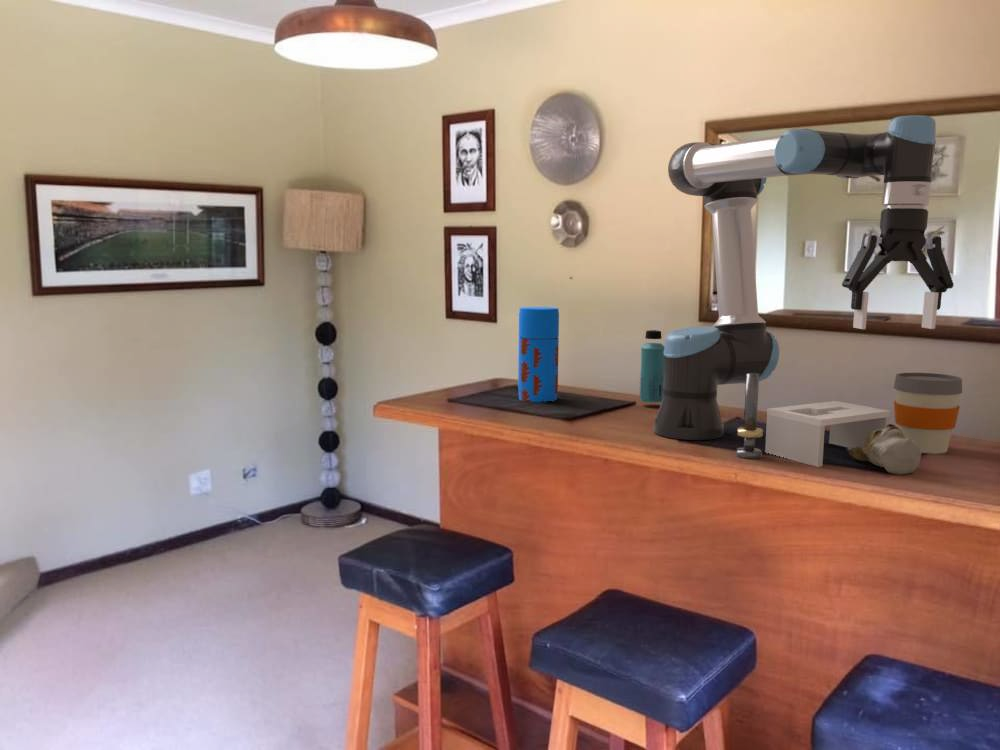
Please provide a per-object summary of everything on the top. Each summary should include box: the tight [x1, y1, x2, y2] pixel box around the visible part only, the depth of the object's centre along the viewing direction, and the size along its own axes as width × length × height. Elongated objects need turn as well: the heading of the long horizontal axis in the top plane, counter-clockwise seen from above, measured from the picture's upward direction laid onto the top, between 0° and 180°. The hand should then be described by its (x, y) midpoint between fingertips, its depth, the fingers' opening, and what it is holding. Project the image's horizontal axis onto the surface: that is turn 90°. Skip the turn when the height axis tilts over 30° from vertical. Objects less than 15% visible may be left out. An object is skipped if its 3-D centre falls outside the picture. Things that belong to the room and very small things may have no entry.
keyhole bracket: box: [764, 400, 891, 468], centre depth 166 cm, size 20×13×9 cm, turn 119°
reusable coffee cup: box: [893, 372, 963, 454], centre depth 171 cm, size 12×13×15 cm
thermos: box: [517, 306, 560, 403], centre depth 228 cm, size 11×11×25 cm
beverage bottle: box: [639, 329, 665, 404], centre depth 218 cm, size 6×7×20 cm
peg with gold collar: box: [735, 373, 764, 460], centre depth 163 cm, size 5×5×16 cm
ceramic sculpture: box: [844, 423, 922, 476], centre depth 156 cm, size 11×9×15 cm
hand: (893, 328), depth 150 cm, fingers open, 13 cm apart
